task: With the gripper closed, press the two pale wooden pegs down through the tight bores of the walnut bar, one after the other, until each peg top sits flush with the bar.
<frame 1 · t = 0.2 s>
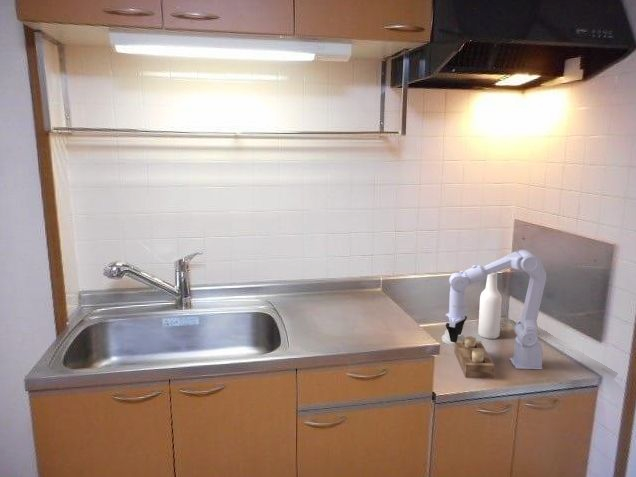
hand: (455, 337, 175), 10 cm above the countertop, tool pointing down, fingers open, 7 cm apart
peg 2: (477, 358, 168), point 6 cm above the countertop, slide at 0.0 cm
white milk bottle: (488, 335, 200), on the countertop
mechanical component: (453, 341, 195), on the countertop
collar bar: (472, 364, 175), on the countertop
peg 1: (470, 344, 179), point 6 cm above the countertop, slide at 0.0 cm
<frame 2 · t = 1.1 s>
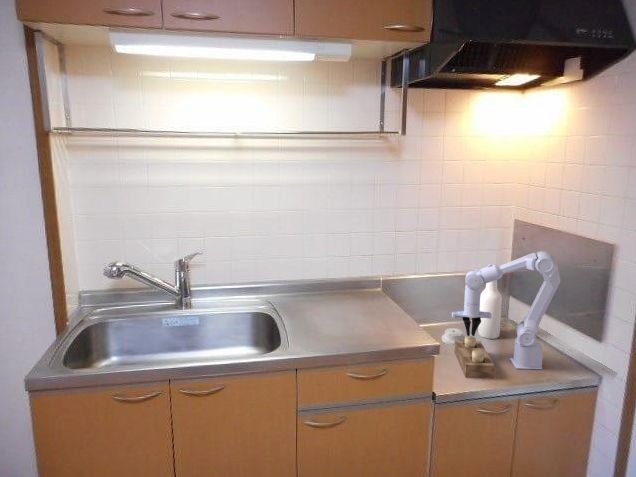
hand: (470, 335, 178), 9 cm above the countertop, tool pointing down, fingers closed
nothing on the countertop moved.
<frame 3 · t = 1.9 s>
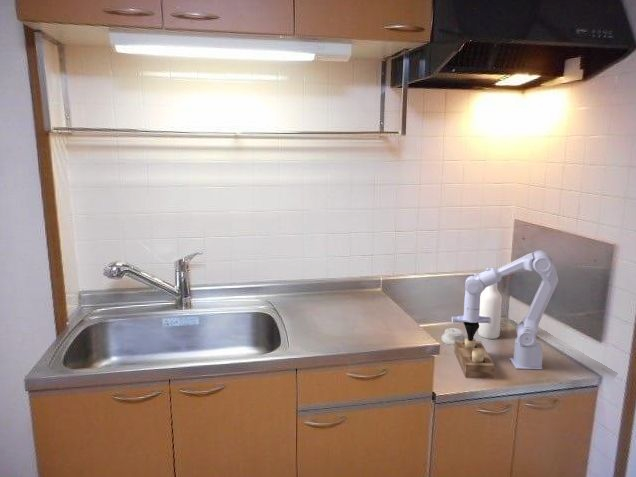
hand: (470, 339, 179), 7 cm above the countertop, tool pointing down, fingers closed, pressing on peg 1
peg 1: (469, 345, 179), point 5 cm above the countertop, slide at 0.6 cm, touching gripper
everything else where it was.
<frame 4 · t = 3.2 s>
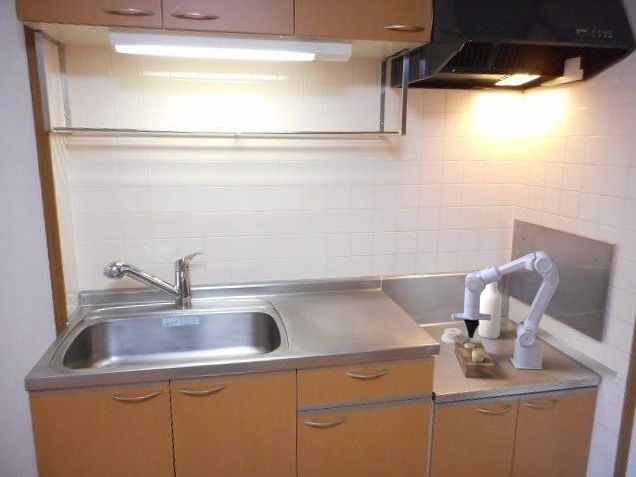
hand: (470, 337, 179), 9 cm above the countertop, tool pointing down, fingers closed
peg 1: (469, 350, 180), point 3 cm above the countertop, slide at 2.8 cm
everything else where it was.
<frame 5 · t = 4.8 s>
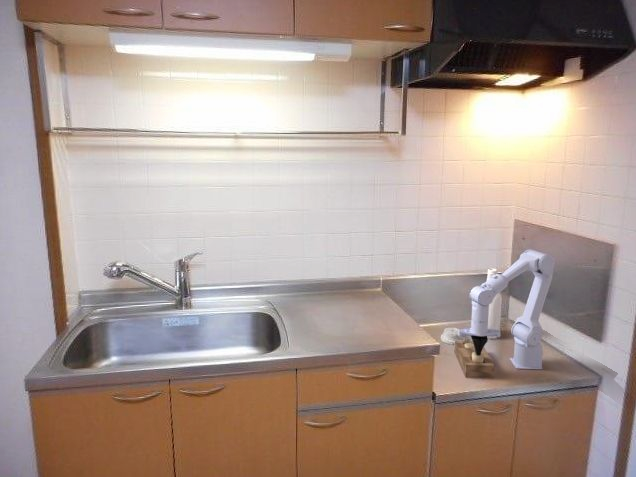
hand: (477, 354, 167), 7 cm above the countertop, tool pointing down, fingers closed, pressing on peg 2
peg 2: (477, 360, 168), point 5 cm above the countertop, slide at 0.7 cm, touching gripper
everything else where it was.
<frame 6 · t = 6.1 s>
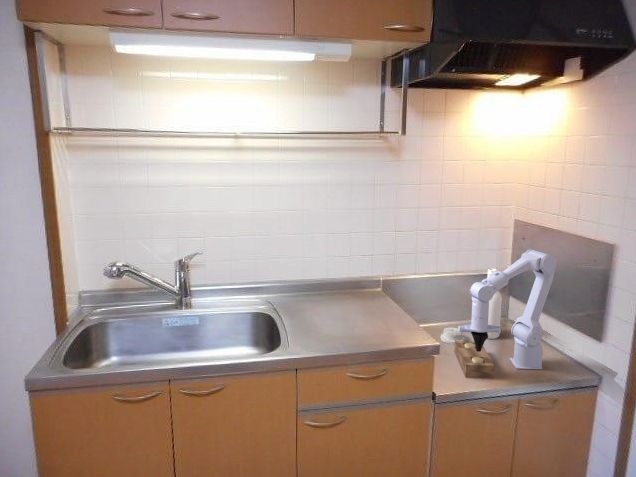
hand: (478, 350, 167), 9 cm above the countertop, tool pointing down, fingers closed
peg 2: (477, 365, 168), point 3 cm above the countertop, slide at 2.8 cm
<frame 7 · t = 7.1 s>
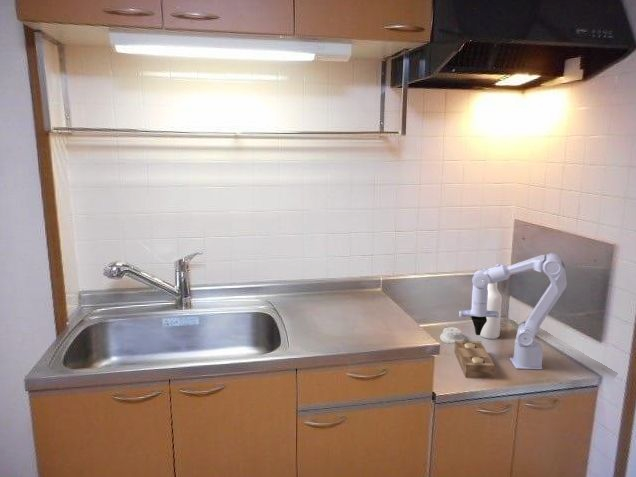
hand: (477, 334, 179), 9 cm above the countertop, tool pointing down, fingers closed
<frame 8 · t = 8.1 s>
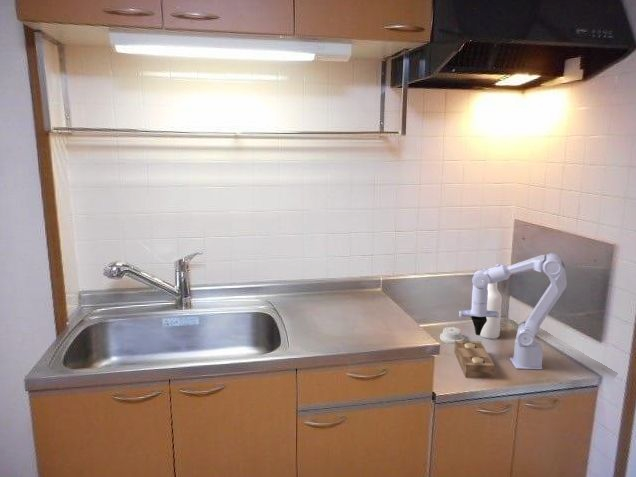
hand: (477, 334, 179), 9 cm above the countertop, tool pointing down, fingers closed
at the end: peg 1 slide at 2.8 cm; peg 2 slide at 2.8 cm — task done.
